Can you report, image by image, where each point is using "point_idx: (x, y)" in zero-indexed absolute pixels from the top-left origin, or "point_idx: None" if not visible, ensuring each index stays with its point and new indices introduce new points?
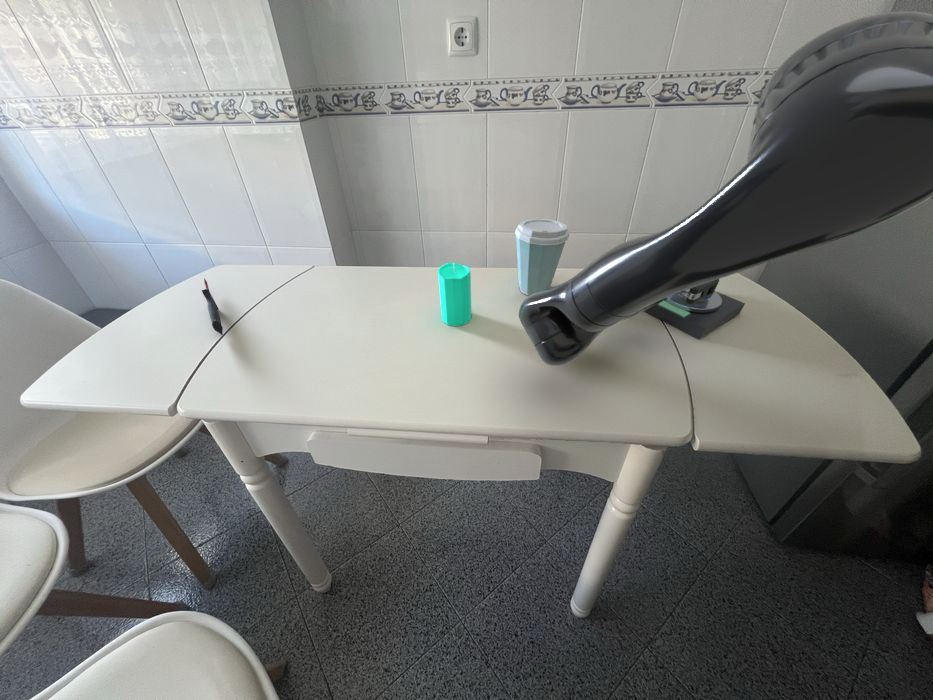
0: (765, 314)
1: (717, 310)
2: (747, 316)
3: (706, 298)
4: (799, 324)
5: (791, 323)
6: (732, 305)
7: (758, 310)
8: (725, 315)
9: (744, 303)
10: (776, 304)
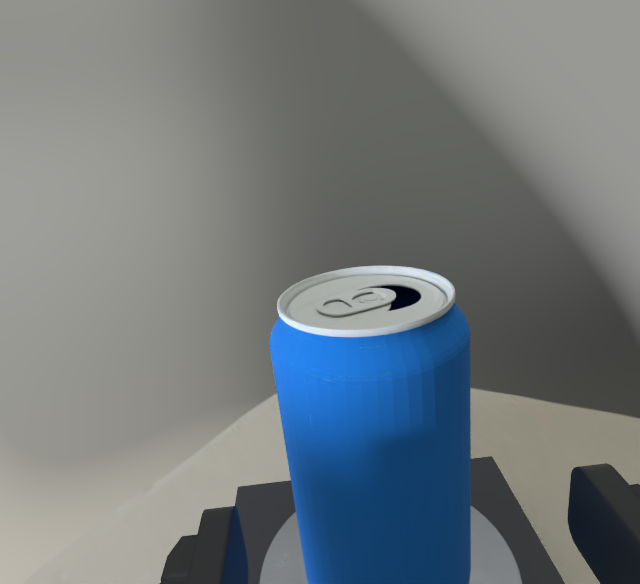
0: (513, 442)
1: None
2: (510, 483)
3: (470, 561)
4: (581, 419)
5: (573, 428)
6: (491, 493)
7: (489, 441)
8: (555, 568)
9: (492, 458)
10: (477, 396)
